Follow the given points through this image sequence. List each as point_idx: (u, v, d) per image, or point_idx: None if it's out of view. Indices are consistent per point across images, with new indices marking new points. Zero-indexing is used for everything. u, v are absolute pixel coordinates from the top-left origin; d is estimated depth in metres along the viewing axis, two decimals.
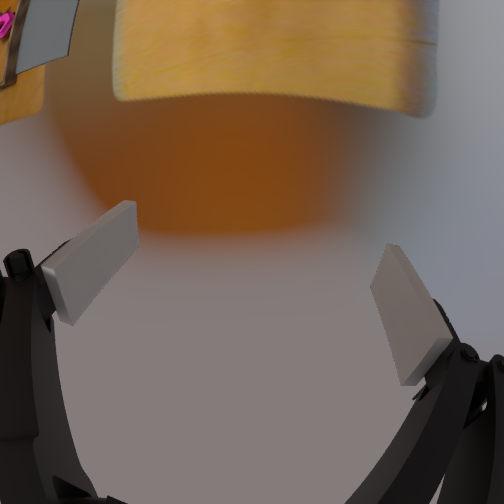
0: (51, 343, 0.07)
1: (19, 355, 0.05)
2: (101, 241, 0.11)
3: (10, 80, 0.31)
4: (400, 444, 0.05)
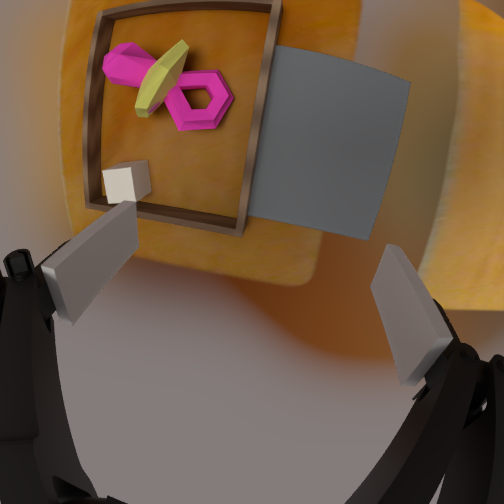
0: (51, 343, 0.07)
1: (19, 355, 0.05)
2: (101, 241, 0.11)
3: (245, 227, 0.38)
4: (400, 444, 0.05)
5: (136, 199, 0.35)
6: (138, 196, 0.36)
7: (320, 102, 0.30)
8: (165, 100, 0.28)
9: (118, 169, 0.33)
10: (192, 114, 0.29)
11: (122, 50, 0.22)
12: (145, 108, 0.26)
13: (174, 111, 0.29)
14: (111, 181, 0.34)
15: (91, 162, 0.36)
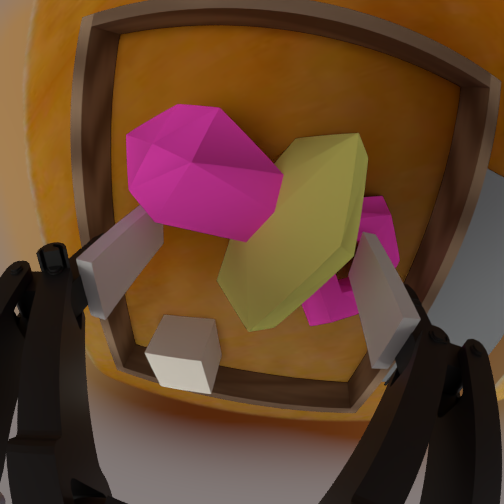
0: (81, 340, 0.08)
1: (47, 352, 0.05)
2: (133, 236, 0.11)
3: None
4: (373, 432, 0.06)
5: (211, 390, 0.22)
6: (212, 383, 0.23)
7: (488, 254, 0.17)
8: None
9: (176, 358, 0.20)
10: (342, 305, 0.16)
11: (193, 139, 0.09)
12: (271, 326, 0.13)
13: (312, 300, 0.15)
14: (164, 367, 0.21)
15: (114, 318, 0.23)
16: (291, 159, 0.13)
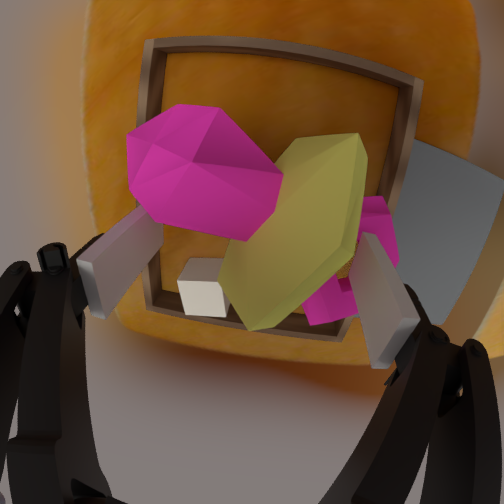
0: (81, 340, 0.08)
1: (47, 352, 0.05)
2: (133, 236, 0.11)
3: None
4: (373, 432, 0.06)
5: (226, 313, 0.31)
6: (227, 308, 0.32)
7: (433, 206, 0.27)
8: None
9: (202, 282, 0.29)
10: (342, 304, 0.16)
11: (193, 139, 0.09)
12: (271, 325, 0.13)
13: (312, 300, 0.15)
14: (191, 293, 0.30)
15: (151, 260, 0.32)
16: (291, 159, 0.13)
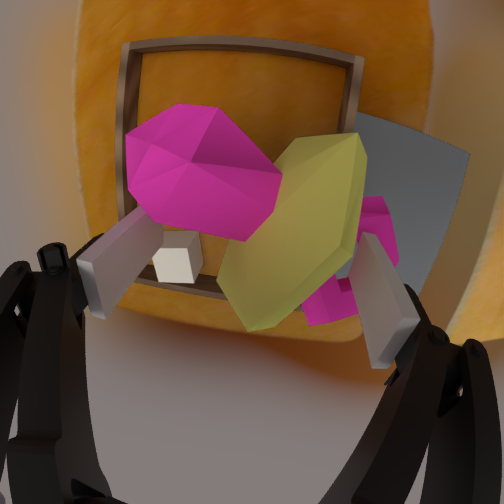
0: (81, 340, 0.08)
1: (47, 352, 0.05)
2: (133, 236, 0.11)
3: None
4: (373, 432, 0.06)
5: (194, 280, 0.34)
6: (195, 275, 0.35)
7: (390, 177, 0.29)
8: None
9: (171, 249, 0.32)
10: (342, 305, 0.16)
11: (192, 139, 0.09)
12: (270, 326, 0.13)
13: (311, 300, 0.15)
14: (162, 260, 0.33)
15: None
16: (290, 159, 0.13)
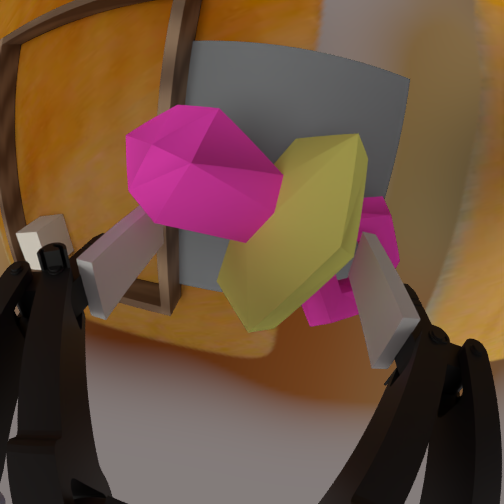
0: (81, 340, 0.08)
1: (47, 352, 0.05)
2: (133, 236, 0.11)
3: (175, 301, 0.29)
4: (373, 432, 0.06)
5: None
6: None
7: (263, 121, 0.20)
8: None
9: (27, 233, 0.23)
10: (342, 305, 0.16)
11: (193, 140, 0.09)
12: None
13: (312, 301, 0.15)
14: (25, 245, 0.24)
15: (11, 218, 0.26)
16: (291, 160, 0.13)
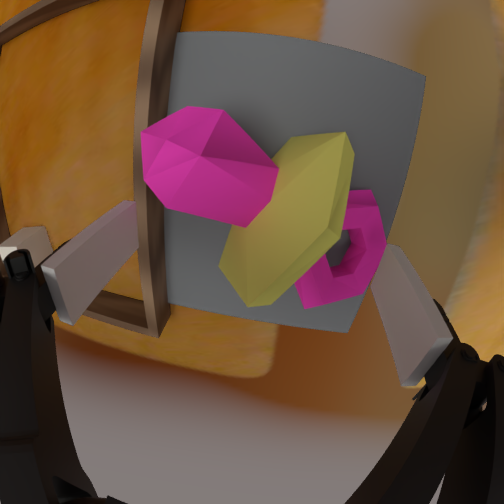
0: (51, 343, 0.07)
1: (19, 355, 0.05)
2: (101, 241, 0.11)
3: (164, 322, 0.26)
4: (400, 444, 0.05)
5: None
6: None
7: (257, 123, 0.17)
8: None
9: (8, 247, 0.21)
10: (334, 289, 0.18)
11: (201, 136, 0.11)
12: (267, 303, 0.14)
13: (305, 283, 0.17)
14: None
15: None
16: (286, 155, 0.15)
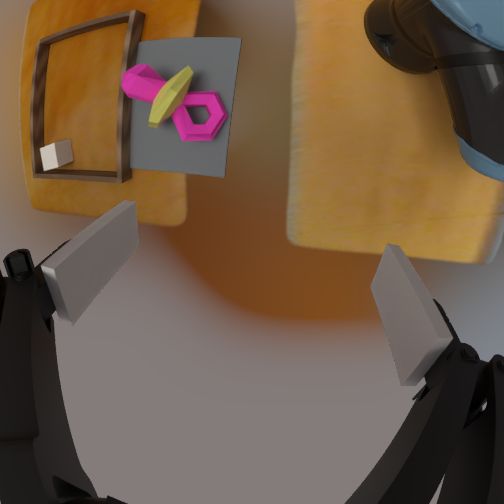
0: (51, 343, 0.07)
1: (19, 355, 0.05)
2: (101, 241, 0.11)
3: (126, 177, 0.45)
4: (400, 444, 0.05)
5: (58, 165, 0.42)
6: (60, 163, 0.42)
7: (168, 74, 0.37)
8: (172, 115, 0.36)
9: (48, 145, 0.40)
10: (193, 128, 0.37)
11: (138, 71, 0.30)
12: (157, 122, 0.33)
13: (179, 125, 0.36)
14: (44, 154, 0.41)
15: (36, 144, 0.42)
16: None
